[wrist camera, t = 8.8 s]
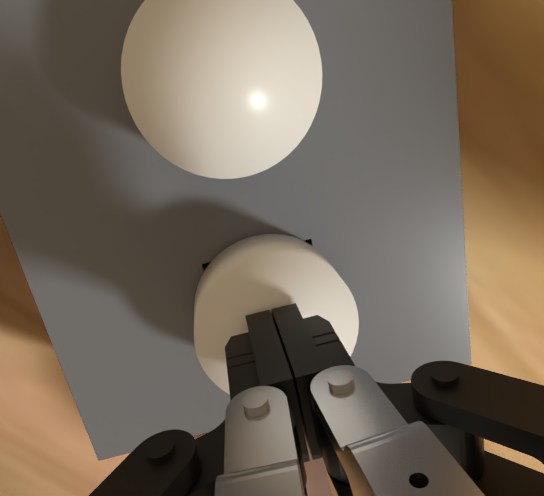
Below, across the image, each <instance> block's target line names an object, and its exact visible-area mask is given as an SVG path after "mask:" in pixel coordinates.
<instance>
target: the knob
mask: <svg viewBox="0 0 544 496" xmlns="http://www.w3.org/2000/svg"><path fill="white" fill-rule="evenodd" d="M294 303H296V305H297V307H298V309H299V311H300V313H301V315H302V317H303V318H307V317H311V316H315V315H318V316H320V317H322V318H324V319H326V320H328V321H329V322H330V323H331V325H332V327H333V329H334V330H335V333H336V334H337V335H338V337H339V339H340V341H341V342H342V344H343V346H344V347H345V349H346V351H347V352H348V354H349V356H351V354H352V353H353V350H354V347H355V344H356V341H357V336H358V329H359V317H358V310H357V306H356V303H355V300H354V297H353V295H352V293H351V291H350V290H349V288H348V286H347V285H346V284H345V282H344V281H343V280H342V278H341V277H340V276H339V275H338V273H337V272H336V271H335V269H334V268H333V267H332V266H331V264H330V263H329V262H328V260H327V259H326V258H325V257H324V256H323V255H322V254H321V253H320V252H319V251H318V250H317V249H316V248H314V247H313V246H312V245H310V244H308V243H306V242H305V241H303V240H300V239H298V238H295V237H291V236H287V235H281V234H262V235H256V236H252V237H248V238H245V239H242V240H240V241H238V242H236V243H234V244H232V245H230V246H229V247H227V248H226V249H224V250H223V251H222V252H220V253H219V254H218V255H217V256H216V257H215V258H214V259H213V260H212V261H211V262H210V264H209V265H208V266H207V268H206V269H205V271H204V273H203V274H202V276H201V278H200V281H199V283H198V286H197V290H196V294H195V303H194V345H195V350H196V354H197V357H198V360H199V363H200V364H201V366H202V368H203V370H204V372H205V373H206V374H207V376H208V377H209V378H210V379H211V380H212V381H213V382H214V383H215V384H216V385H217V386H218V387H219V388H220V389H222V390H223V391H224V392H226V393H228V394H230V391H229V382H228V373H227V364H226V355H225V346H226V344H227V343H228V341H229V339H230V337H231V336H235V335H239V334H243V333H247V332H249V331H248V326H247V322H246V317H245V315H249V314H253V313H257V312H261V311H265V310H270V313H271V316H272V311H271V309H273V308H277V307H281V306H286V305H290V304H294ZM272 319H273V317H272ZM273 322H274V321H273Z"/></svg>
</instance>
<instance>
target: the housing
mask: <svg viewBox="0 0 544 496" xmlns="http://www.w3.org/2000/svg"><path fill="white" fill-rule="evenodd" d="M144 1H145V0H0V214H1V217H2V219H3V222H4V224H5V227H6V229H7V232H8V234H9V237H10V239H11V242H12V244H13V247H14V249H15V252H16V254H17V257H18V259H19V262H20V264H21V267H22V270H23V272H24V275H25V277H26V280H27V282H28V285H29V287H30V290H31V292H32V295H33V297H34V300H35V302H36V305H37V307H38V310H39V312H40V315H41V317H42V320H43V322H44V325H45V327H46V330H47V332H48V335H49V337H50V340H51V342H52V345H53V347H54V350H55V352H56V355H57V357H58V360H59V362H60V365H61V367H62V370H63V372H64V375H65V377H66V380H67V383H68V385H69V388H70V390H71V393H72V395H73V398H74V400H75V403H76V405H77V408H78V410H79V413H80V415H81V418H82V420H83V423H84V425H85V428H86V430H87V433H88V435H89V438H90V440H91V443H92V445H93V448H94V450H95V453H96V455H97V458H98V460H99V461H100V460H103V459H107V458H111V457H115V456H119V455H123V454H127V453H130V452H132V451H133V450H134V449H135V448H136V447H137V446H138V445H140V444H141V443H142V442H143V441H144V440H146V439H147V438H149V437H151V436H152V435H155V434H157V433H159V432H162V431H166V430H173V429H179V430H184V431H187V432H189V433H190V434H191V435H192V436H196V435H200V434H204V433H208V432H210V431H212V430H214V429H215V428H216V427H218V426H219V425H220V424H221V423H222V422H223V421H224V420H225V412H226V407H227V405H228V403H229V402H230V401H231V400H230V394H228V393H226V392H224V391H223V390H222V389H220V388H219V387H218V386H217V385H216V384H215V383H214V382H213V381H212V380H211V379H210V378H209V377H208V376H207V374H206V373H205V372H204V370H203V368H202V366H201V364H200V363H199V360H198V357H197V354H196V350H195V345H194V303H195V294H196V290H197V286H198V283H199V281H200V278H201V276H202V274H203V273H204V271H205V268H204V263H208V262H211V261H212V260H213V259H214V258H215V257H216V256H217V255H218V254H219V253H220V252H222V251H223V250H224V249H226V248H227V247H229V246H230V245H232V244H234V243H236V242H238V241H240V240H242V239H245V238H248V237H252V236H256V235H262V234H281V235H287V236H291V237H295V238H298V239H300V240H303V241H304V240H308V244H310V245H312V246H313V247H314V248H316V249H317V250H318V251H319V252H320V253H321V254H322V255H323V256H324V257H325V258H326V259H327V260H328V262H329V263H330V264H331V266H332V267H333V268H334V269H335V271H336V272H337V273H338V275H339V276H340V277H341V278H342V280H343V281H344V282H345V284H346V285H347V286H348V288H349V290H350V291H351V293H352V295H353V297H354V300H355V303H356V306H357V310H358V317H359V329H358V336H357V341H356V344H355V347H354V350H353V353H352V354H351V356H350V358H351V359H352V361H353V363H354V364H355V366H356V367H359V368H361V369H363V370H365V371H366V372H368V373H369V374H370V376H371V377H372V378H373V379H374V381H376V382H380V383H387V384H397V383H401V382H405V381H409V380H411V376H412V374H413V372H414V371H415V370H416V369H417V368H418V367H420V366H421V365H423V364H426V363H429V362H433V361H454V362H458V363H462V364H466V365H470V364H471V347H470V329H469V310H468V291H467V273H466V254H465V235H464V217H463V198H462V179H461V161H460V142H459V123H458V105H457V86H456V67H455V49H454V30H453V11H452V0H294V2H295V3H296V4H297V5H298V6H299V8H300V9H301V10H302V12H303V14H304V15H305V17H306V18H307V20H308V22H309V24H310V26H311V28H312V30H313V32H314V35H315V38H316V41H317V44H318V47H319V51H320V56H321V63H322V90H321V96H320V101H319V105H318V108H317V112H316V115H315V117H314V119H313V122H312V124H311V126H310V128H309V129H308V131H307V133H306V135H305V136H304V138H303V139H302V140H301V142H300V143H299V144H298V145H297V147H296V148H295V149H294V150H293V151H292V152H291V153H290V154H289V155H288V156H286V157H285V158H284V159H283V160H281V161H280V162H279V163H277V164H275V165H274V166H272V167H270V168H269V169H267V170H264V171H262V172H260V173H257V174H254V175H250V176H247V177H242V178H235V179H217V178H208V177H204V176H200V175H196V174H193V173H191V172H188V171H186V170H183V169H182V168H180V167H178V166H176V165H174V164H173V163H171V162H170V161H168V160H167V159H165V158H164V157H163V156H162V155H160V154H159V153H158V152H157V151H156V150H155V149H154V148H153V147H152V146H151V145H150V144H149V143H148V141H147V140H146V139H145V138H144V137H143V135H142V134H141V132H140V131H139V129H138V127H137V126H136V124H135V122H134V120H133V118H132V116H131V114H130V112H129V109H128V106H127V103H126V100H125V96H124V92H123V87H122V78H121V56H122V50H123V44H124V40H125V37H126V34H127V31H128V28H129V26H130V24H131V21H132V19H133V17H134V15H135V14H136V12H137V11H138V9H139V7H140V6H141V4H142V3H143V2H144Z"/></svg>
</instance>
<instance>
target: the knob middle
mask: <svg viewBox="0 0 544 496" xmlns="http://www.w3.org/2000/svg"><path fill="white" fill-rule="evenodd" d="M121 78H122V87H123V92H124V96H125V100H126V103H127V106H128V109H129V112H130V114H131V116H132V118H133V120H134V122H135V124H136V126H137V127H138V129H139V131H140V132H141V134H142V135H143V137H144V138H145V139H146V140H147V141H148V143H149V144H150V145H151V146H152V147H153V148H154V149H155V150H156V151H157V152H158V153H159V154H160V155H162V156H163V157H164V158H165V159H167V160H168V161H170V162H171V163H173V164H174V165H176V166H178V167H180V168H182V169H183V170H186V171H188V172H191V173H193V174H196V175H200V176H204V177H208V178H217V179H235V178H242V177H247V176H250V175H254V174H257V173H260V172H262V171H264V170H267V169H269V168H270V167H272V166H274V165H275V164H277V163H279V162H280V161H281V160H283V159H284V158H285V157H286V156H288V155H289V154H290V153H291V152H292V151H293V150H294V149H295V148H296V147H297V145H298V144H299V143H300V142H301V140H302V139H303V138H304V136H305V135H306V133H307V131H308V129H309V128H310V126H311V124H312V122H313V119H314V117H315V115H316V112H317V108H318V105H319V101H320V96H321V90H322V63H321V56H320V51H319V47H318V44H317V41H316V38H315V35H314V32H313V30H312V28H311V26H310V24H309V22H308V20H307V18H306V17H305V15H304V14H303V12H302V10H301V9H300V8H299V6H298V5H297V4H296V3H295V2H294V0H145V1H144V2H143V3H142V4H141V6H140V7H139V9H138V11H137V12H136V14H135V15H134V17H133V19H132V21H131V24H130V26H129V28H128V31H127V34H126V37H125V40H124V44H123V50H122V56H121Z"/></svg>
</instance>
